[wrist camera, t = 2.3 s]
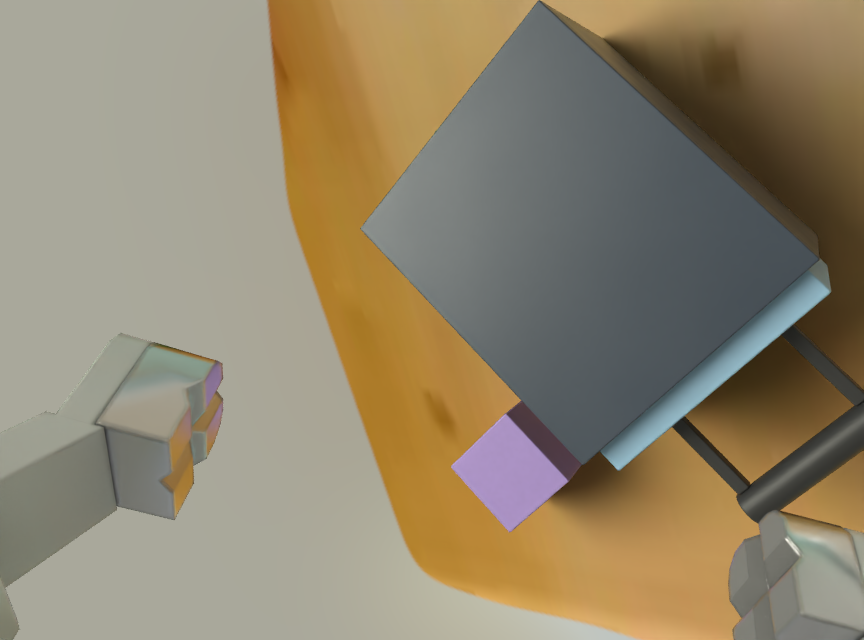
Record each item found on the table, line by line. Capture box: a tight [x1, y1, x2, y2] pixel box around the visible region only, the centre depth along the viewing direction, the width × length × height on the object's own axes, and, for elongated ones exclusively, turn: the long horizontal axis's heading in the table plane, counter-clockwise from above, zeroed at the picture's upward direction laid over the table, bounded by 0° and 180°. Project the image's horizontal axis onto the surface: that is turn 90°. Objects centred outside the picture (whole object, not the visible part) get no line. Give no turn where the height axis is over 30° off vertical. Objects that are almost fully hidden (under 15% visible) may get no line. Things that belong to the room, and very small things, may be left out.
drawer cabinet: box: [360, 0, 820, 465], centre depth 36 cm, size 14×12×10 cm
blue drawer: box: [600, 259, 864, 523], centre depth 35 cm, size 19×11×8 cm, turn 48°
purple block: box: [451, 401, 582, 532], centre depth 42 cm, size 4×4×5 cm
